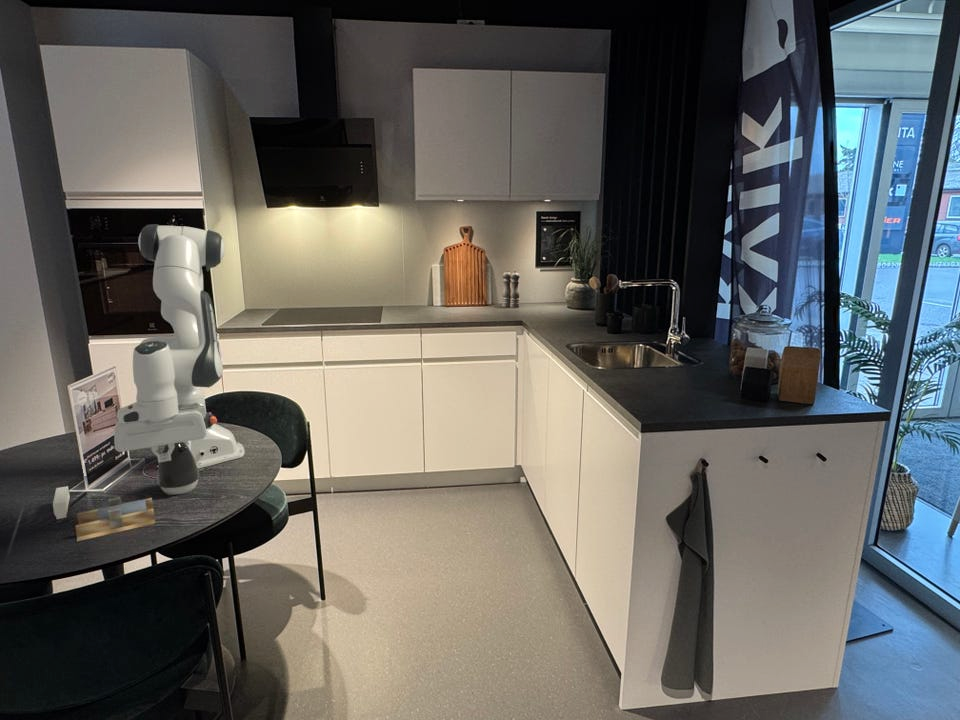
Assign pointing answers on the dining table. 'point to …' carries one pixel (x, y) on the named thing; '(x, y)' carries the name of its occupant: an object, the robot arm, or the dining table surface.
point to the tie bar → (61, 502)
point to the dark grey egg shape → (178, 471)
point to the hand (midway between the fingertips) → (164, 460)
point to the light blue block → (123, 508)
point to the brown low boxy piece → (112, 520)
